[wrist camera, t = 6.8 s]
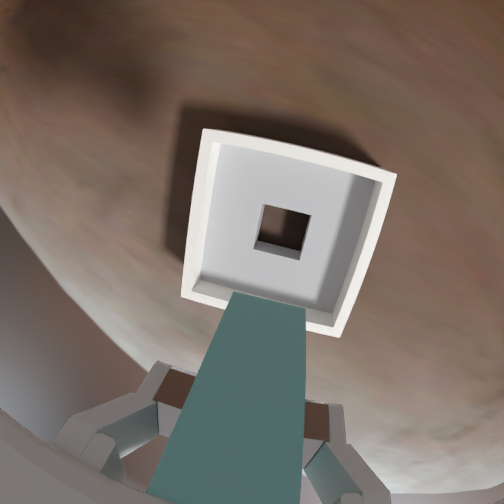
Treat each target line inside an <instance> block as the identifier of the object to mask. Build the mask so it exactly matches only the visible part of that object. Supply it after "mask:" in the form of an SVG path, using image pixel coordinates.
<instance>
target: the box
mask: <svg viewBox="0 0 504 504" xmlns="http://www.w3.org/2000/svg"><path fill="white" fill-rule="evenodd" d="M396 176H397V174H395V173H393V172H390V171H388V170H386V169H383V168H380V167H377V166H374V165H371V164H367V163H364V162H361V161H357V160H354V159H350V158H347V157H343V156H340V155H336V154H332V153H329V152H325V151H321V150H317V149H313V148H309V147H305V146H301V145H296V144H292V143H287V142H283V141H278V140H274V139H269V138H264V137H259V136H254V135H248V134H243V133H237V132H232V131H226V130H219V129H205V128H203V132H202V137H201V143H200V149H199V155H198V161H197V168H196V174H195V181H194V188H193V195H192V202H191V209H190V217H189V225H188V233H187V241H186V250H185V259H184V269H183V279H182V290H181V297H183V298H187V299H190V300H193V301H197V302H200V303H204V304H207V305H210V306H214V307H218V308H221V309H226V307H227V305H228V302H229V300H230V298H231V296H232V293H233V291H234V292H238V293H242V294H246V295H251V296H255V297H259V298H263V299H267V300H271V301H275V302H280V303H284V304H288V305H292V306H297V307H301V308H306V330H307V331H311V332H316V333H320V334H325V335H329V336H334V337H338V338H340V336H341V333H342V331H343V329H344V326H345V324H346V322H347V319H348V317H349V315H350V312H351V310H352V307H353V305H354V302H355V300H356V297H357V295H358V292H359V290H360V287H361V284H362V282H363V279H364V277H365V274H366V271H367V268H368V266H369V263H370V260H371V257H372V254H373V251H374V249H375V246H376V243H377V240H378V237H379V234H380V231H381V227H382V224H383V221H384V218H385V215H386V211H387V208H388V205H389V201H390V198H391V194H392V191H393V187H394V184H395V180H396ZM265 204H268V205H272V206H276V207H280V208H284V209H288V210H292V211H296V212H300V213H304V214H308V215H310V217H309V220H308V224H307V228H306V232H305V236H304V239H303V243H302V247H301V251H298V250H294V249H290V248H286V247H282V246H278V245H274V244H270V243H266V242H262V241H258V235H259V230H260V225H261V221H262V216H263V211H264V207H265Z"/></svg>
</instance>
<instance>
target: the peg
mask: <svg viewBox="0 0 504 504" xmlns="http://www.w3.org/2000/svg"><path fill="white" fill-rule="evenodd" d="M305 381H306V308H301V307H297V306H292V305H288V304H284V303H280V302H275V301H271V300H267V299H263V298H259V297H255V296H251V295H246V294H242V293H238V292H234V291H233V293H232V296H231V298H230V300H229V302H228V305H227V307H226V309H225V312H224V314H223V316H222V319H221V321H220V323H219V325H218V328H217V330H216V332H215V335H214V337H213V339H212V341H211V344H210V346H209V348H208V351H207V353H206V355H205V358H204V360H203V362H202V364H201V367H200V369H199V371H198V374H197V376H196V378H195V380H194V383H193V385H192V387H191V390H190V392H189V394H188V397H187V399H186V401H185V403H184V406H183V408H182V410H181V413H180V415H179V417H178V420H177V422H176V424H175V426H174V429H173V431H172V433H171V436H170V438H169V440H168V443H167V445H166V447H165V449H164V452H163V454H162V456H161V459H160V461H159V463H158V466H157V468H156V470H155V472H154V475H153V477H152V479H151V482H150V484H149V486H148V489H147V491H146V493H148V494H151V495H153V496H156V497H159V498H162V499H165V500H168V501H171V502H174V503H177V504H299V502H300V490H301V476H302V460H303V441H304V418H305Z"/></svg>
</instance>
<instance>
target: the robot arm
mask: <svg viewBox="0 0 504 504" xmlns="http://www.w3.org/2000/svg"><path fill="white" fill-rule="evenodd" d="M196 376H197V374H195V373H192V372H189V371H186V370H183V369H181V368H178V367H175V366H171V365H168V364H166V363H163V362H160V361H157V362H156V363H155V364H154V365H153V367H152V368H151V370H150V372H149V373H148V375H147V376H146V378H145V380H144V381H143V383H142V384H141V386H140V388H139V389H138V391H137V393H136V394H135V393H132V392H131V393H129V394H126V395H124V396H122V397H119V398H117V399H114V400H112V401H109V402H107V403H104V404H102V405H100V406H97V407H94V408H92V409H89V410H87V411H84V412H81V413H78V414H76V415H73V416H71V417H70V419H69V420H68V422H67V423H66V424H65V425H64V427H63V428H62V430H61V431H60V432H59V434H58V435H57V436H56V438H55V439H54V441H53V442H52V443H51V445H50V444H49V443H47V442H46V441H44V440H43V439H41V438H40V437H38V436H37V435H35V434H34V433H33V432H31V431H30V430H28V429H27V428H25V427H24V426H23V425H21V424H20V423H19V422H17V421H16V420H15V419H13V418H12V417H11V416H10V415H8V414H7V413H6V412H5V411H3V410H2V409H1V408H0V504H177V503H174V502H171V501H168V500H165V499H162V498H159V497H156V496H153V495H151V494H148V493H146V492H143V491H140V490H138V489H136V488H133V487H131V486H128V485H126V484H124V483H123V482H124V480H125V478H126V474H125V471H124V468H123V465H122V462H121V459H120V458H122V457H124V456H125V455H127V454H129V453H131V452H132V451H134V450H136V449H137V448H139V447H140V446H142V445H144V444H145V443H147V442H149V441H150V440H152V439H153V438H155V437H157V436H158V434H160V435H163V436H166V437H169V438H170V436H171V433H172V431H173V429H174V426H175V424H176V422H177V420H178V417H179V415H180V413H181V410H182V408H183V406H184V403H185V401H186V399H187V397H188V394H189V392H190V390H191V387H192V385H193V383H194V380H195V378H196ZM302 469H304V471H305V473H306V475H307V476H308V478H309V480H310V482H311V484H312V485H313V487H314V489H315V491H316V493H317V495H318V496H319V498H320V500H321V502H322V503H323V504H391V497H390V491H389V490H388V489H387V488H386V486H385V485H384V484H383V483H382V482H381V481H380V479H379V478H378V477H377V476H376V475H375V473H374V472H373V471H372V470H371V469H370V467H369V466H368V465H367V464H366V463H365V461H364V460H363V459H362V458H361V456H360V455H359V454H358V453H357V452H356V450H355V449H354V448H353V447H352V445H351V444H346V433H345V421H344V411H343V406H342V405H340V404H333V403H326V402H320V401H313V400H307V399H305V418H304V441H303V460H302ZM490 504H504V499H501V500H498V501H496V502H493V503H490Z"/></svg>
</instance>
